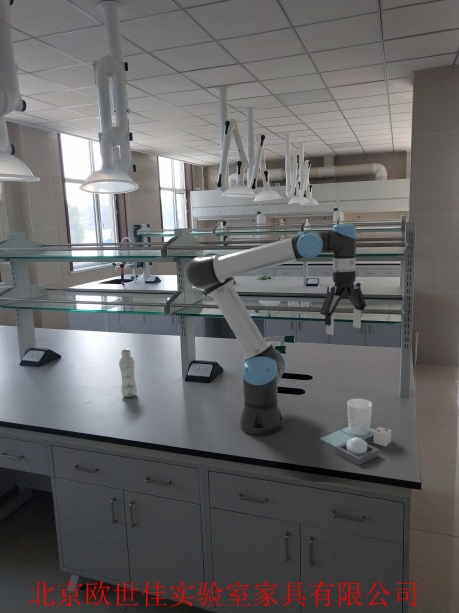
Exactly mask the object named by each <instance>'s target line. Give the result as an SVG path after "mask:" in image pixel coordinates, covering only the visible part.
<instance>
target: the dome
mask: <svg viewBox="0 0 459 613" xmlns="http://www.w3.org/2000/svg"><path fill="white" fill-rule="evenodd" d="M367 444H368V443H367V441H365V440H362V439H361V438H358V437H354V438H352V439H349V440H348V441H347V450H346V451H348V452H350V453H352V454H354V455H356V456H361V455H363V454H365V453H367Z"/></svg>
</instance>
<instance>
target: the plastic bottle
mask: <svg viewBox="0 0 459 613" xmlns="http://www.w3.org/2000/svg"><path fill="white" fill-rule="evenodd" d="M120 356H121V358H120V359H119V362H118V367H119V369H120V375H121V389H120V390H121V395H122V397H124V398H132V397H133V398H134V397H135V396H136V395H137V393H138V387H137V384H136V379H135V360H134V358H133V357H132V356H131V349H129V348H128V349H122V350H121V355H120Z"/></svg>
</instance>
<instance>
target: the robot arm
mask: <svg viewBox="0 0 459 613" xmlns="http://www.w3.org/2000/svg"><path fill="white" fill-rule="evenodd" d="M320 254H332V269H333V272H332V282H334V286H332V285H328V286H327V288H326V289H327V291H326V294H325V296H324V301H323V303H322V305H321V309H320V312H319V313H320V314H321V315H322V316H324V324H325V334H326V335H330V336H334V327H335V325H334V324H335V323H334V321H335V320H334V319H335V316H334V315H333V314H334V312H335V310H336V308H337V306H338V304H339V303H340V301H341V300H343V299H344V298H348V299H349V301H350V302H351V304H352V305H353V307H354V309H353V310H352V311H353V314H352V316H353V319H352V321H353V322H352V326H353V328H356V329H361V328H362V327H361V326H362V324H361V320H362V311H364V310H365V308H366V307H367V304H366V302H365V298H364V295H363V292H362V289H361V282H357V280H356V279H357V278H356V276H357V274H356V262H357V259H356V258H357V257H356V256H357V227H356V226H355V224H353V223H350V224H349V223H347V224H345V223H344V224H343V223H342V224H334V225H333V226H332V230H312V231H309V230H307V231H305V230H304V231H300V232H298V233H297V235H296V236H292V237H288V238H285V239H282V240H277V241H273V242H270V243H267V244H263V245H260V246H256V247H252V248H248V249H244V250H241V251H237V252H233V253H230V254H225V255H221V254H218V253H213V252H211V253H209V252H208V253H206V254H203V255H199V256H196V257H194V258H192V259H191V260H190V261H189V262H188V264H187V266H186V268H185V269H186V270H185V275H186V279H187V281H188V282H189V284H190V285H191V286H193V287H194V288H195V289H199V290H203V291H204V292H205V294H206V296H208V297H211V298H213V300H214V301H215V304H216V305H217V307H218V308H219V310H220V312H221V314H222V315H223V317H224V319H225V320H226V322H227V324H228V325H229V328H230V329H231V330H232V332H233V334H234V336H235V337H236V339H237V340H238V342H239V344H240V346H241V348H242V349H243V351H244V358H243V359H244V361H245V362H244V364H243V366H242V377H243V378H242V383H243V408H242V411H241V415H240V418H239V427H240V429H241V430H242V431H243V432H245V433H246V434H248V435H253V436H254V435H255V436H269V435H274V434H276V433H278V432H280V431H281V430H282V429H283V428H284V418H283V416H282V413H281V411H280V408H279V405H278V404H279V403H278V402H279V401H278V400H279V399H278V385H279V383H280V380H281V379H282V377H283V375H284V372H285V367H286V362H285V359H284V356H283V354H282V353H281V352H280V351H278V349H275V348H274V346H273V344H272V342H270V341H266V340H265V338H264V337H263V335H262V333H261V332H260V330H259V328H258V327H257V325H256V323H255V321H254V320H253V318H252V316H251V314H250V313H249V311H248V309H247V307H246V306H245V304H244V302H243V301H242V299H241V297H240V295H239V294H238V292H237V290H236V289H235V286H234V282H235V279H234V277H237V276H240V275H241V276H242V275H245V274H249V273H254V272H256V271H260V270H261V271H262V270H265V269H269V268H273V267H277V266H281V265H284V264H288V263H289V264H290V263H291V262H296V261H300V260H304V259H312V258H313V259H314V258H315V257H318V256H319V255H320Z"/></svg>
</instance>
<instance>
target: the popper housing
mask: <svg viewBox="0 0 459 613" xmlns="http://www.w3.org/2000/svg"><path fill="white" fill-rule="evenodd" d="M334 452H335V454H336V455H338V456H340V457H342V458H344V459H346V460H348V461H349V462H351V463H353V464H355V465H356V466H361V465H363V464H364V463H365V464H366V462H368V461H371V460H372V459H375V458H376V457H379V454H380V452H379V449H378V448H377V447H374V446H372V445H370V444H368V443H367V453H365V454H363V455H361V456H356V455H354V454H352V453H350V452H348V451H347V442H345V443H343V444H341V445H338V446H336V447H334Z"/></svg>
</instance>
